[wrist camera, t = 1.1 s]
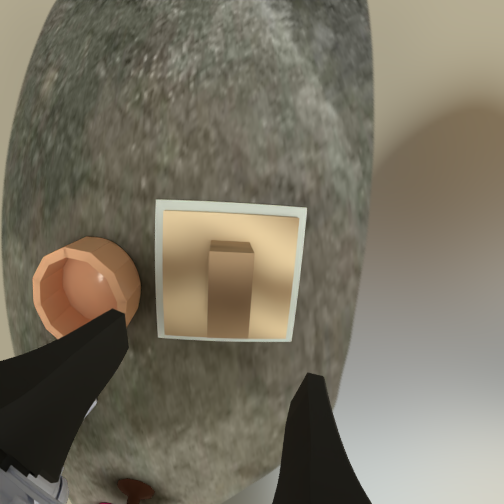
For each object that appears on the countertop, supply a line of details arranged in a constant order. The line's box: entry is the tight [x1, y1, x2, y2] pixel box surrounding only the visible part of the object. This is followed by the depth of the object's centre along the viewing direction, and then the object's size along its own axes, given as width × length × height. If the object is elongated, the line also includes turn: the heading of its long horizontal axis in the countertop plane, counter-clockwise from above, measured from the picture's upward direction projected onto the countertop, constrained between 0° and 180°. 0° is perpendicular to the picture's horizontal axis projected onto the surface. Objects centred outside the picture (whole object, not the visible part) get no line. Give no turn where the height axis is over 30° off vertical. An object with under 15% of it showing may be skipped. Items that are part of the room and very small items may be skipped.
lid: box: [163, 210, 299, 339], centre depth 22 cm, size 10×10×4 cm
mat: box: [155, 199, 307, 342], centre depth 24 cm, size 12×12×1 cm
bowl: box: [33, 236, 141, 339], centre depth 21 cm, size 8×8×4 cm
